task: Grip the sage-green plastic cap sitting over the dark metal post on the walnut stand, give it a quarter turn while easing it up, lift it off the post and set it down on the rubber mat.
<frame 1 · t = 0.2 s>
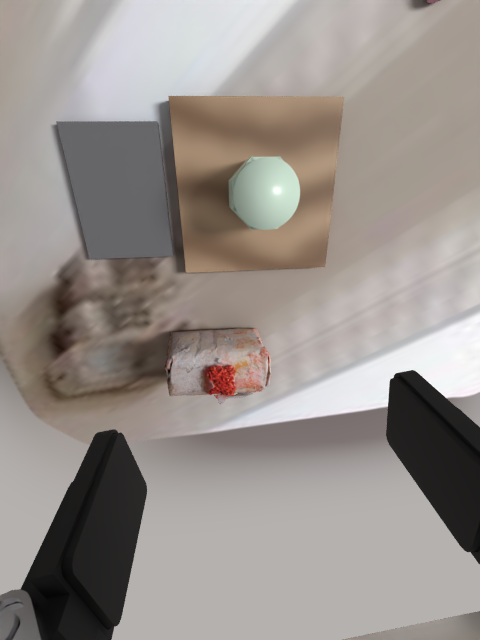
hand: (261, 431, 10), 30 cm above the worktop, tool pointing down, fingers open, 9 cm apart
food item: (218, 345, 43), on the worktop
post stand: (255, 192, 35), on the worktop
cap: (257, 193, 33), point 1 cm above the worktop, touching post stand
mat: (122, 195, 33), on the worktop
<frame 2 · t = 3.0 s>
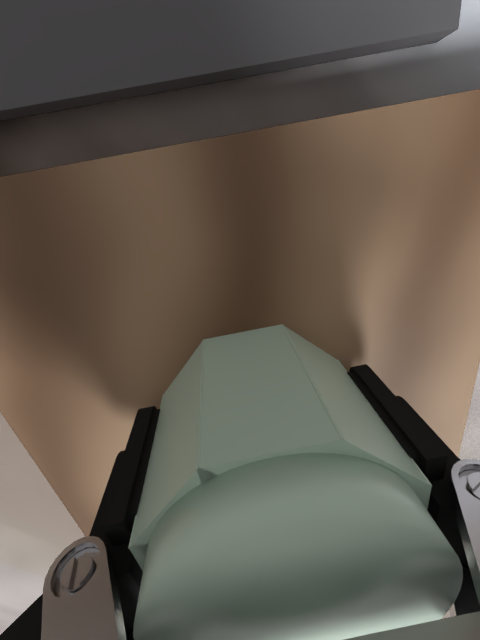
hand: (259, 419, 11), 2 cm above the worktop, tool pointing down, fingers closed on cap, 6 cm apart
post stand: (251, 382, 13), on the worktop
cap: (256, 405, 11), point 1 cm above the worktop, touching gripper, post stand
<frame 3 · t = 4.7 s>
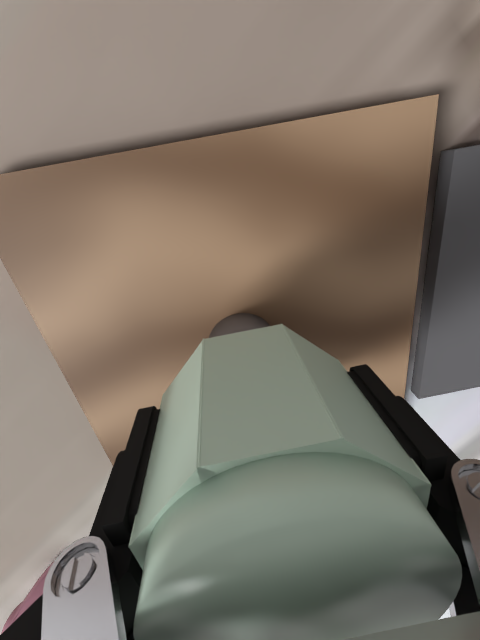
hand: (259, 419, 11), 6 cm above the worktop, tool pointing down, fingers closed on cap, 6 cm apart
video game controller: (94, 575, 25), on the worktop
post stand: (238, 329, 16), on the worktop
cap: (256, 405, 11), point 5 cm above the worktop, touching gripper
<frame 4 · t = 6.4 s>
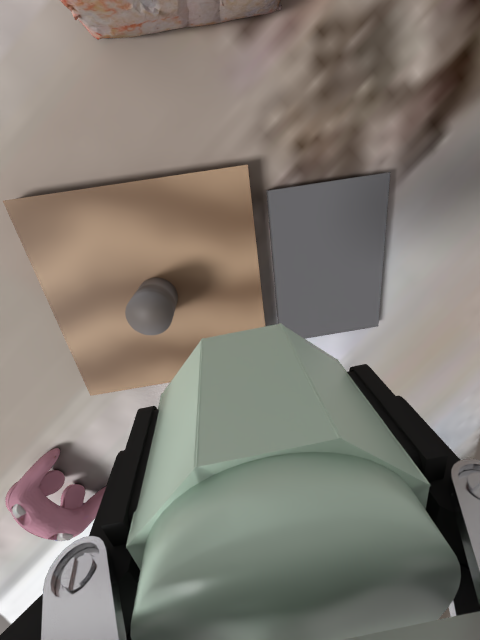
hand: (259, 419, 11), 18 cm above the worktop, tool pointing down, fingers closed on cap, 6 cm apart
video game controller: (72, 474, 35), on the worktop
post stand: (160, 290, 26), on the worktop
cap: (255, 405, 11), point 17 cm above the worktop, touching gripper
mat: (326, 264, 27), on the worktop
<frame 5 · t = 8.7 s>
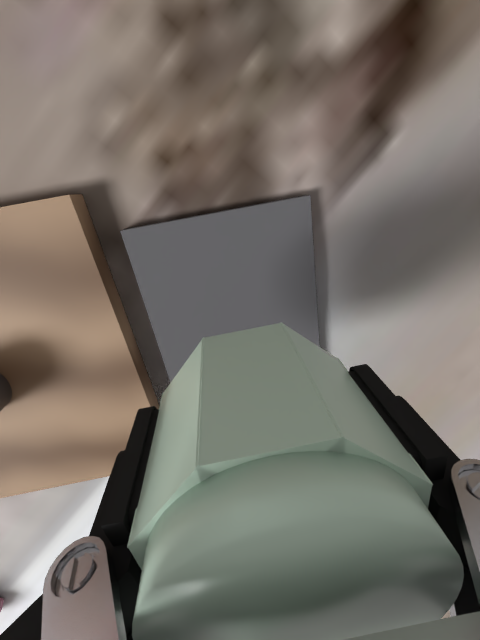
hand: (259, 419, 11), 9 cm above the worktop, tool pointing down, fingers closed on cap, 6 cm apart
cap: (256, 404, 11), point 8 cm above the worktop, touching gripper
mat: (237, 326, 19), on the worktop
when the fingers open (3 cm above the worktop, at t = 10.3 s): cap drops 1 cm, resting on mat.
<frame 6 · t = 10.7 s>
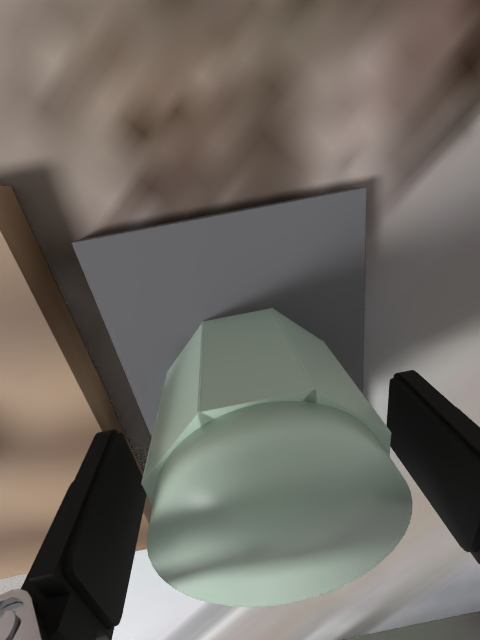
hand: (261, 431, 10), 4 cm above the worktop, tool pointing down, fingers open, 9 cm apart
cap: (250, 382, 13), point 1 cm above the worktop, touching mat
mat: (249, 372, 13), on the worktop
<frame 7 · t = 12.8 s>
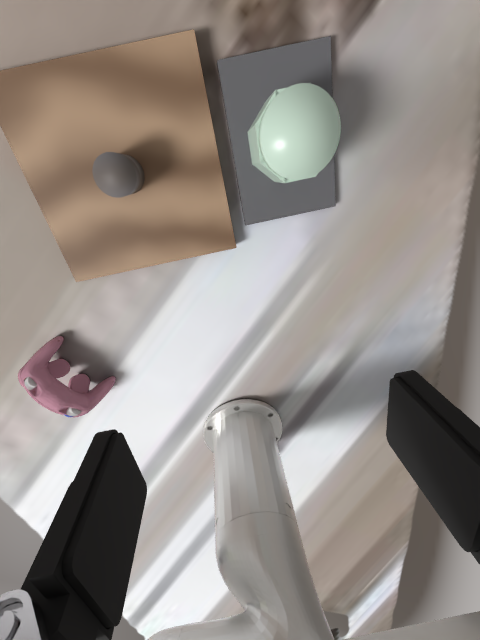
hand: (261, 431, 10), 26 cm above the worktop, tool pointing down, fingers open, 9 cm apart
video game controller: (77, 366, 39), on the worktop
post stand: (129, 174, 29), on the worktop
cap: (282, 141, 28), point 1 cm above the worktop, touching mat
mat: (281, 142, 29), on the worktop
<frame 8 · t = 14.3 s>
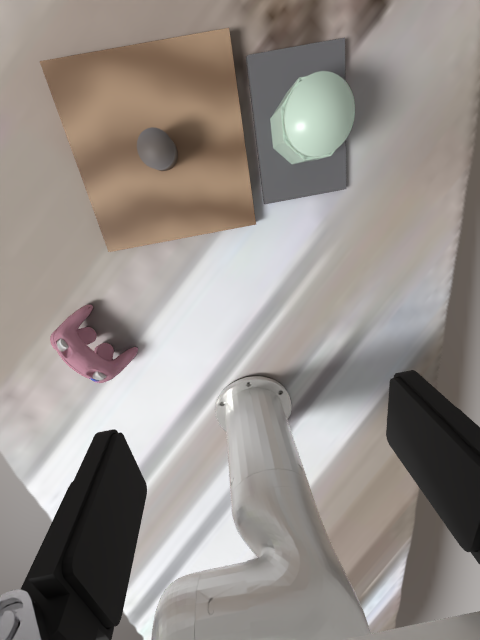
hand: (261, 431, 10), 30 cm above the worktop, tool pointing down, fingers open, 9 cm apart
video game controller: (102, 336, 41), on the worktop
post stand: (163, 154, 32), on the worktop
cap: (301, 128, 32), point 1 cm above the worktop, touching mat
mat: (299, 129, 33), on the worktop
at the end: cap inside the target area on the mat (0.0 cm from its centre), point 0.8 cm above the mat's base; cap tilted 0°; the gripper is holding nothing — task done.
